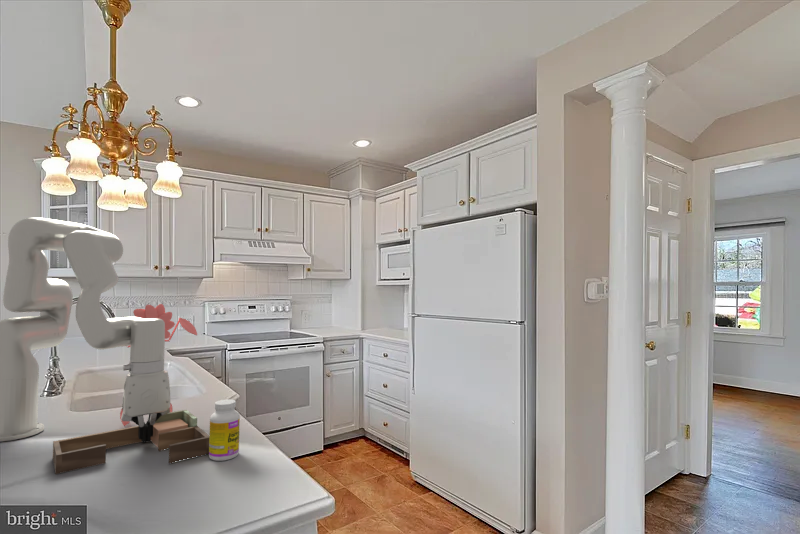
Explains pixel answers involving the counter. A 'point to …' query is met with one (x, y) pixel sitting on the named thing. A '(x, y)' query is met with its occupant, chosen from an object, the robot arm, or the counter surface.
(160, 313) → the figurine
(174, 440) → the box
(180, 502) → the counter surface
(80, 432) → the counter surface
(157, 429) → the terracotta block
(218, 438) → the supplement bottle
